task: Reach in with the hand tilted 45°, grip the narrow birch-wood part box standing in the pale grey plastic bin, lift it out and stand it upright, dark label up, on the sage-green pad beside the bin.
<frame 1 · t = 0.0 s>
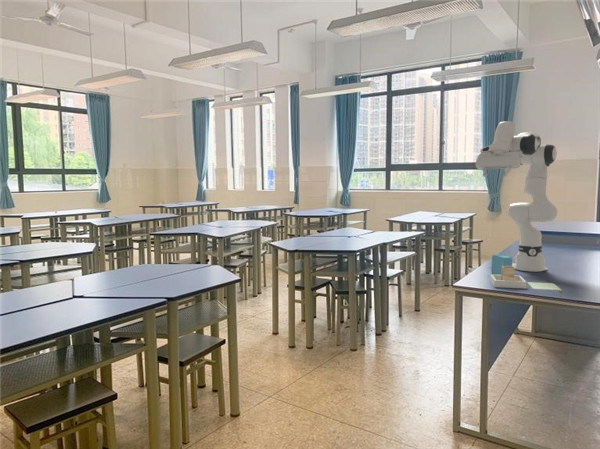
hand: (494, 175, 207), 54 cm above the table, tool tilted 30°, fingers open, 8 cm apart
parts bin: (507, 285, 214), on the table
part box: (507, 284, 214), point 1 cm above the table, touching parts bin
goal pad: (543, 287, 210), on the table
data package: (501, 278, 233), on the table
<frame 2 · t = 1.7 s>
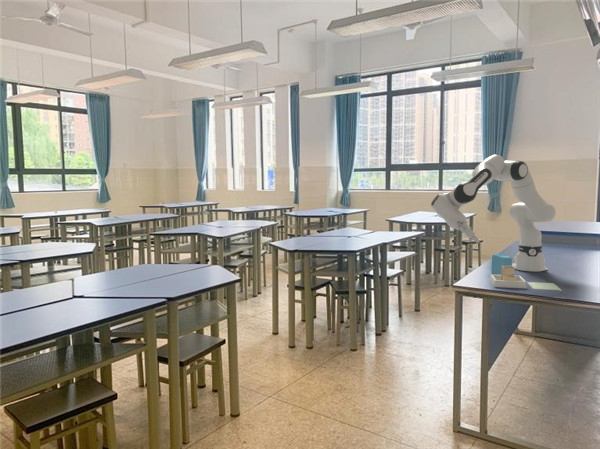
hand: (477, 241, 216), 22 cm above the table, tool tilted 45°, fingers open, 8 cm apart
nothing on the table moved.
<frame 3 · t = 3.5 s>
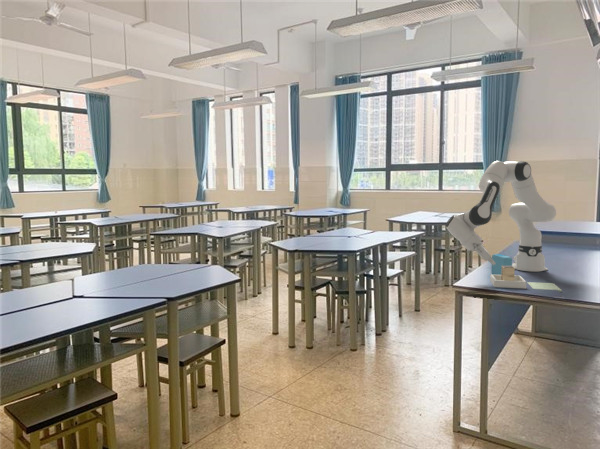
hand: (493, 262, 215), 12 cm above the table, tool tilted 45°, fingers open, 8 cm apart
nothing on the table moved.
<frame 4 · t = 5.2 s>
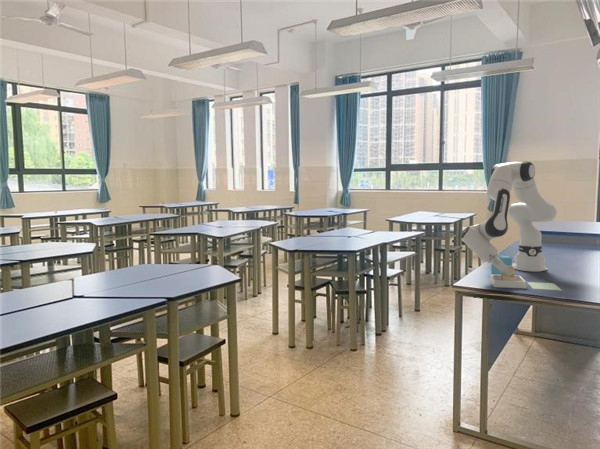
hand: (509, 273, 214), 6 cm above the table, tool tilted 45°, fingers closed on part box, 5 cm apart
part box: (507, 284, 214), point 1 cm above the table, touching gripper, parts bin
everything else where it was.
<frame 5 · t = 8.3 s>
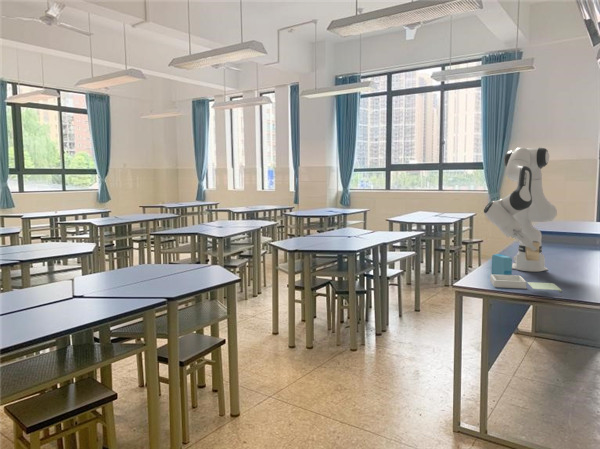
hand: (533, 248, 210), 19 cm above the table, tool tilted 45°, fingers closed on part box, 5 cm apart
part box: (531, 259, 210), point 14 cm above the table, touching gripper
everything else where it was.
when the fingers open (8 cm above the table, at t = 11.4 s): part box drops 1 cm, resting on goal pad.
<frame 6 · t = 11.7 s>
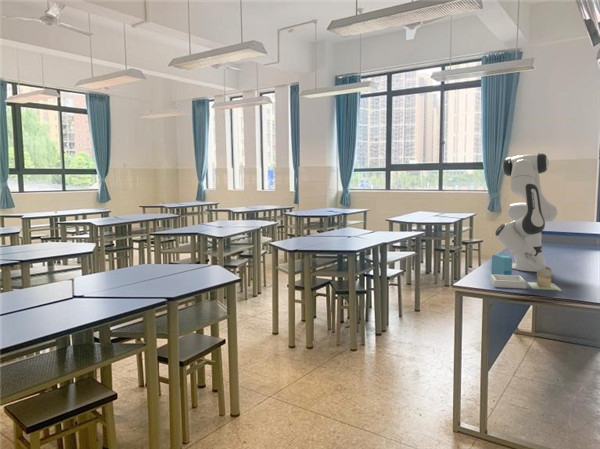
hand: (545, 272, 209), 8 cm above the table, tool tilted 45°, fingers open, 8 cm apart
part box: (543, 285, 210), point 1 cm above the table, touching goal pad
everything else where it was.
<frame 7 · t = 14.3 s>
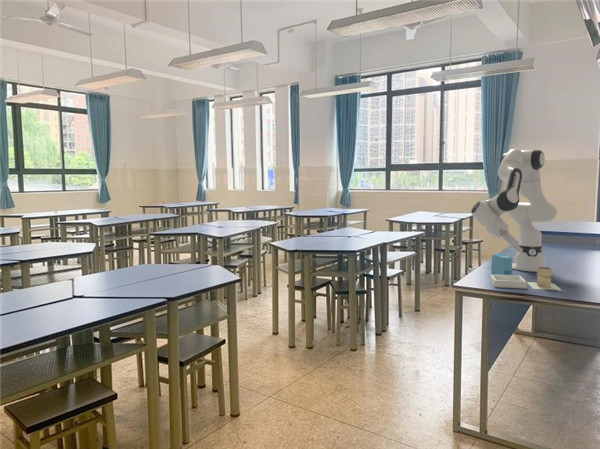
hand: (519, 249, 212), 18 cm above the table, tool tilted 45°, fingers open, 8 cm apart
nothing on the table moved.
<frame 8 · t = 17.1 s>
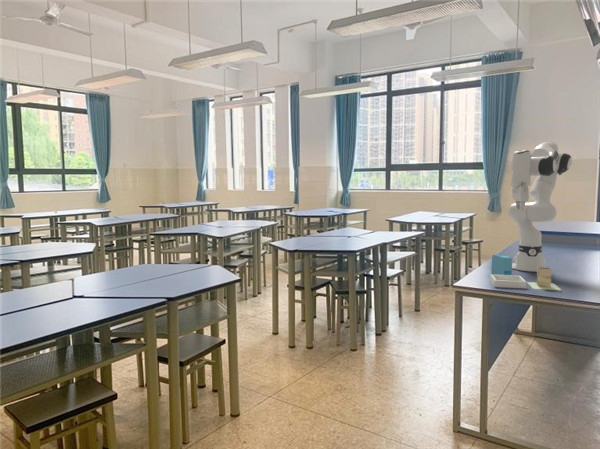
hand: (520, 209, 221), 37 cm above the table, tool pointing down, fingers open, 8 cm apart
nothing on the table moved.
at the end: part box inside the target area on the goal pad (0.1 cm from its centre), point 0.8 cm above the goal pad's base; part box tilted 0°; the gripper is holding nothing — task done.
